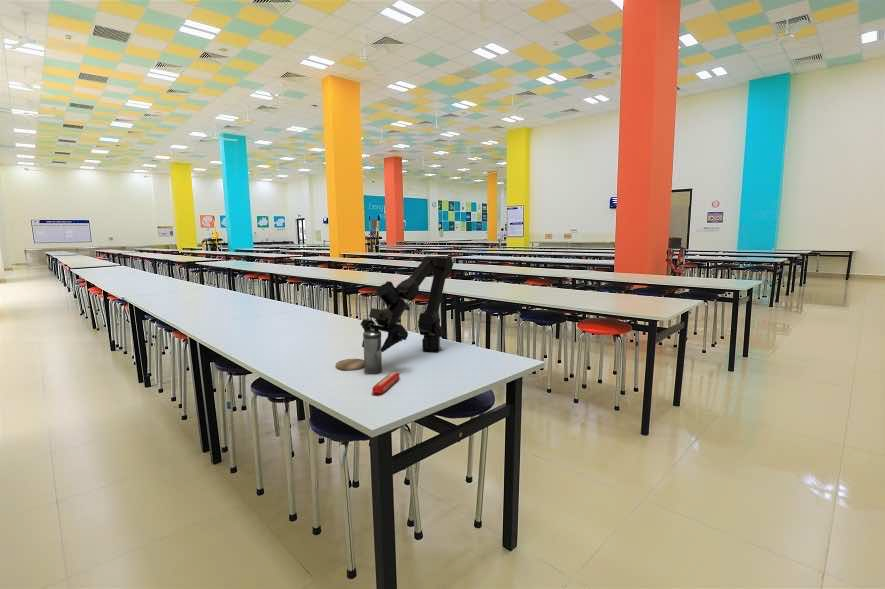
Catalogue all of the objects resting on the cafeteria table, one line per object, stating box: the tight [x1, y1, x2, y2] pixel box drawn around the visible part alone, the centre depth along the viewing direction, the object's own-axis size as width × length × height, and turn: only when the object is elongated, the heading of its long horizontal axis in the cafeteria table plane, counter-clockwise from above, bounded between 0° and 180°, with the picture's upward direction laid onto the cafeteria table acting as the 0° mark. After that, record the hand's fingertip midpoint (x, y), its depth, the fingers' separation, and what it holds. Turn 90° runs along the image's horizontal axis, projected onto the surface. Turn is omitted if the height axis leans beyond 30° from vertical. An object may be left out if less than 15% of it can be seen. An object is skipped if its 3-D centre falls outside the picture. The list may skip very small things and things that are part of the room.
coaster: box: [335, 358, 364, 372], centre depth 155 cm, size 11×11×1 cm
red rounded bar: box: [371, 371, 401, 395], centre depth 134 cm, size 16×4×3 cm, turn 164°
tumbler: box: [362, 331, 383, 376], centre depth 148 cm, size 6×6×14 cm
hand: (372, 349), depth 147 cm, fingers open, 9 cm apart
